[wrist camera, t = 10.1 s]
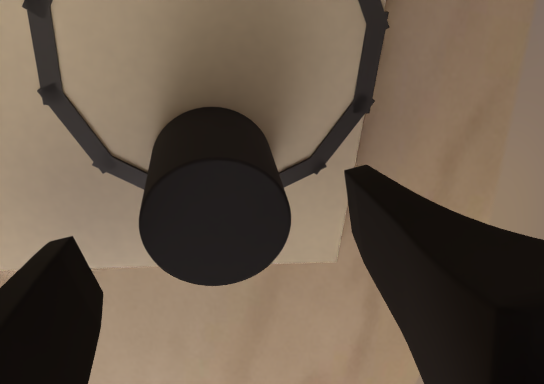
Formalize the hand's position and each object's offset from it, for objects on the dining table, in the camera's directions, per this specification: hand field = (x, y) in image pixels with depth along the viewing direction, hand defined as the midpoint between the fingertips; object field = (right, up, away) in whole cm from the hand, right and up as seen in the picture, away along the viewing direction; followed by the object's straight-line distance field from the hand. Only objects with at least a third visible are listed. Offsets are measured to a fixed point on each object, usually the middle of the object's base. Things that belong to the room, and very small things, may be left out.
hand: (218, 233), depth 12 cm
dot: (-1, +2, +3) cm, 4 cm away
